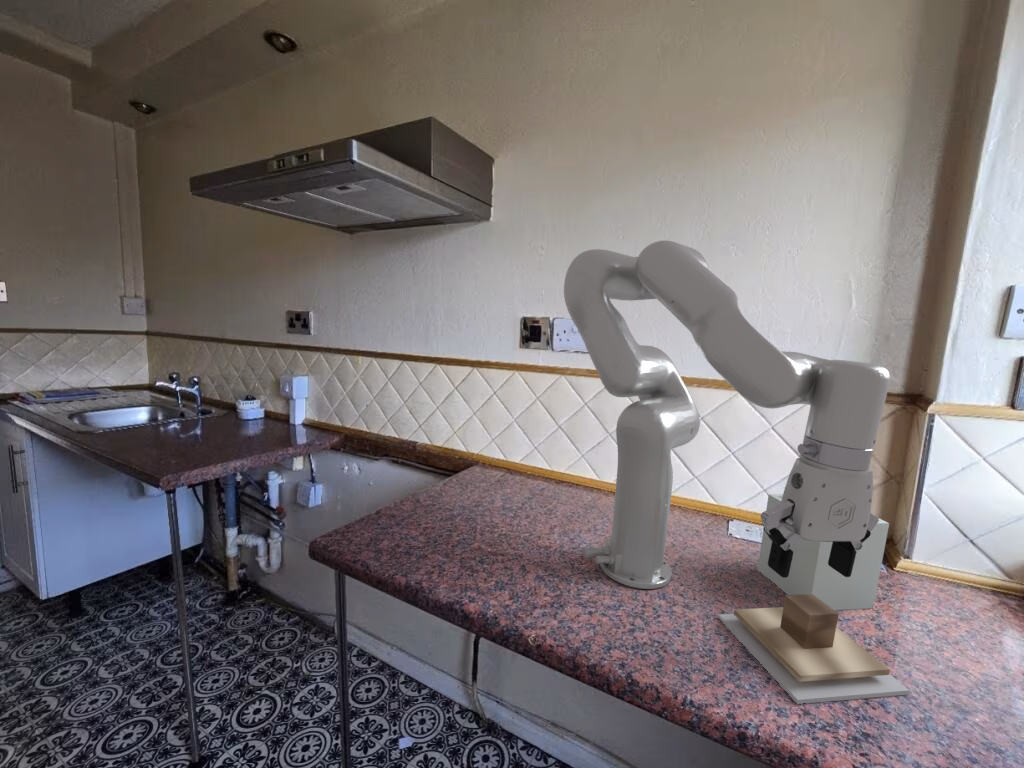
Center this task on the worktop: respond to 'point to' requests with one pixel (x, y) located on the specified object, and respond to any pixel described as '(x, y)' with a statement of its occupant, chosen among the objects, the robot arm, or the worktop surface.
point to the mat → (818, 688)
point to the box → (828, 569)
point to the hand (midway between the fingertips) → (808, 571)
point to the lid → (810, 640)
